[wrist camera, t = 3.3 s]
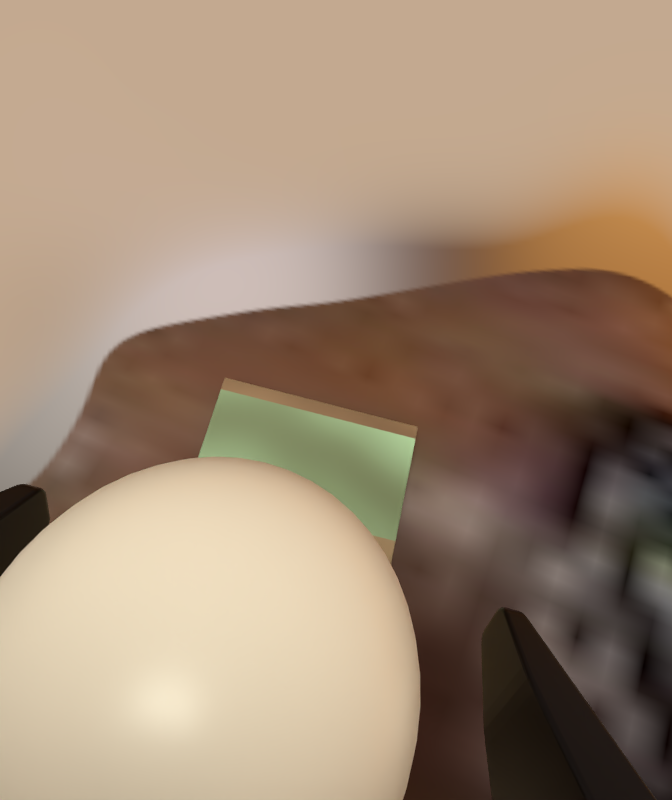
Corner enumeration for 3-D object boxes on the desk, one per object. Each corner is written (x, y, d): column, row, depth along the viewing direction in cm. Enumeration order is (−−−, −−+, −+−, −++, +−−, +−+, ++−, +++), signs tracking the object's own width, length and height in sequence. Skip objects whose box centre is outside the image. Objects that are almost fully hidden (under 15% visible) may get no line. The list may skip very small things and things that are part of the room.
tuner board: (301, 982, 14) (301, 1018, 13) (52, 919, 13) (33, 950, 13) (411, 431, 18) (417, 427, 17) (229, 385, 18) (224, 377, 17)
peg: (330, 648, 15) (570, 1832, 1) (131, 598, 15) (-1473, 1331, 1) (362, 504, 16) (639, 433, 3) (180, 458, 16) (-415, 165, 3)
